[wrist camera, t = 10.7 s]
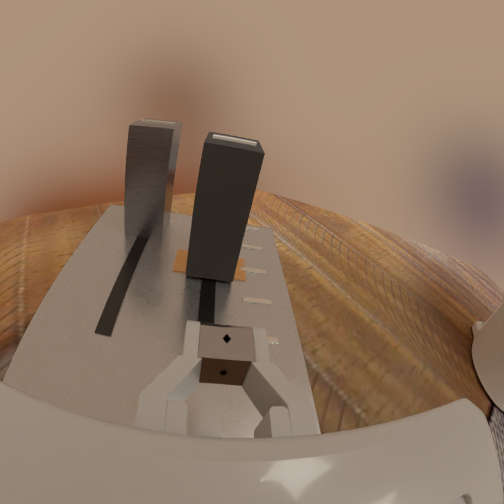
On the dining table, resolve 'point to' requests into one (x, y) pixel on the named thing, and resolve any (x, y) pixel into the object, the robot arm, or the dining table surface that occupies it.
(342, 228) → the dining table surface
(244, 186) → the fader knob
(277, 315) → the console
